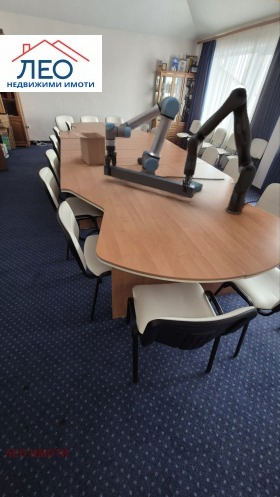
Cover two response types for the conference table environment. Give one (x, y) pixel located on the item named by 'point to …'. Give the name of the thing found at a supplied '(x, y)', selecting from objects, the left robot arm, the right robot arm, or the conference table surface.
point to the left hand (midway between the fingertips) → (111, 174)
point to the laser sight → (140, 159)
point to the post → (151, 181)
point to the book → (198, 185)
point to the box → (92, 146)
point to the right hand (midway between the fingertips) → (185, 191)
